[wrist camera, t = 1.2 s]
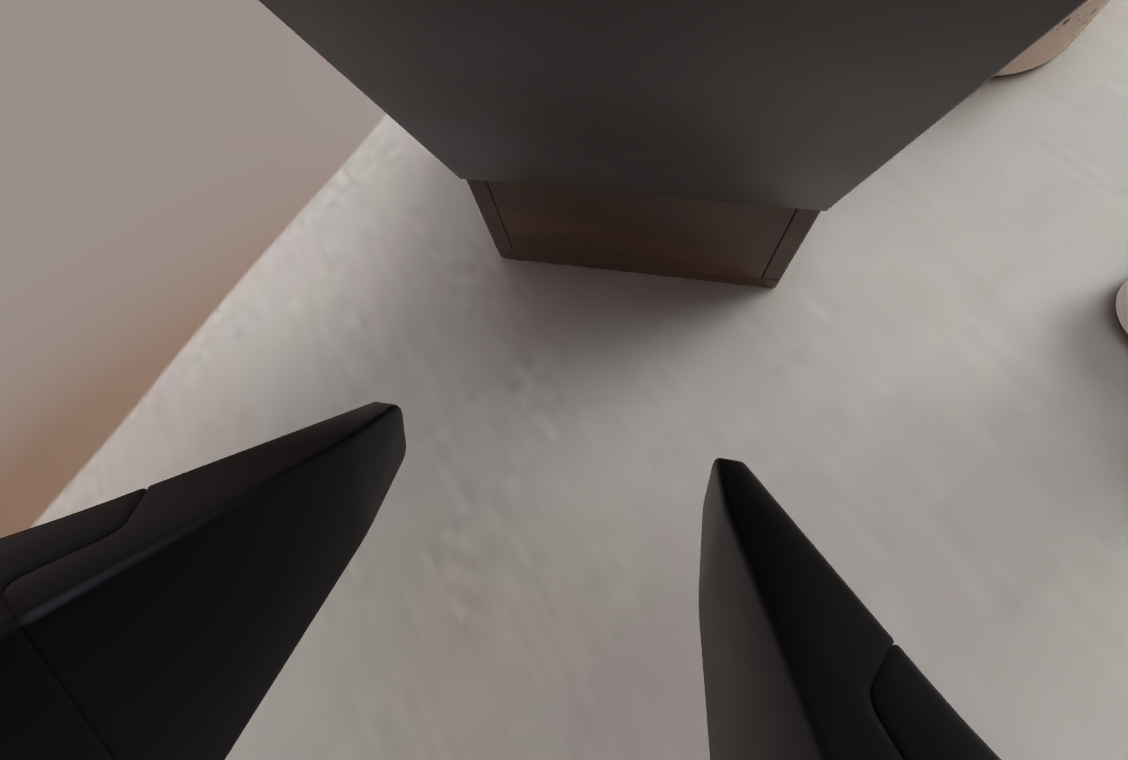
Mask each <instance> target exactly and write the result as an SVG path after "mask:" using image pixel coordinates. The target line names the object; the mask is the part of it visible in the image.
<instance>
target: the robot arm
mask: <svg viewBox="0 0 1128 760" xmlns="http://www.w3.org/2000/svg"><path fill="white" fill-rule="evenodd" d="M405 451H406V442H405V433H404V424H403V416H402V411H401V409H400V408H399V407H398V406H397V405H394V404H388V403H382V402H373V403H370V404H368V405H365V406H362V407H360V408H357V409H354V410H352V411H349V412H346V413H344V414H341V415H338V416H335V417H333V418H330V419H327V420H325V421H322V422H319V423H317V424H314V425H311V426H309V427H306V428H303V429H301V430H298V431H295V432H293V433H290V434H287V435H285V436H282V437H279V438H277V439H274V440H271V441H269V442H266V443H263V444H261V445H258V446H255V447H253V448H250V449H247V450H245V451H242V452H239V453H237V454H234V455H231V456H228V457H226V458H223V459H220V460H218V461H215V462H212V463H210V464H207V465H204V466H202V467H199V468H196V469H194V470H191V471H188V472H186V473H183V474H180V475H178V476H175V477H172V478H170V479H167V480H164V481H162V482H159V483H156V484H154V485H151V486H149V487H148V489H147V490H146V489H140V490H137V491H134V492H132V493H129V494H126V495H124V496H121V497H119V498H116V499H113V500H110V501H108V502H105V503H102V504H99V505H97V506H94V507H91V508H88V509H85V510H83V511H80V512H77V513H74V514H71V515H69V516H66V517H63V518H60V519H57V520H54V521H51V522H48V523H45V524H42V525H39V526H36V527H33V528H30V529H27V530H24V531H21V532H18V533H15V534H12V535H9V536H6V537H3V538H0V760H225V758H226V757H227V755H228V753H229V752H230V750H231V749H232V747H233V746H234V744H235V742H236V741H237V739H238V738H239V736H240V734H241V733H242V731H243V730H244V728H245V726H246V725H247V723H248V722H249V720H250V719H251V717H252V715H253V714H254V712H255V711H256V709H257V707H258V706H259V704H260V703H261V701H262V700H263V698H264V696H265V695H266V693H267V692H268V690H269V688H270V687H271V685H272V684H273V682H274V681H275V679H276V677H277V676H278V674H279V673H280V671H281V669H282V668H283V666H284V665H285V663H286V662H287V660H288V658H289V657H290V655H291V654H292V652H293V650H294V649H295V647H296V646H297V644H298V643H299V641H300V639H301V638H302V636H303V635H304V633H305V631H306V630H307V628H308V627H309V625H310V624H311V622H312V620H313V619H314V617H315V616H316V614H317V612H318V611H319V609H320V608H321V606H322V605H323V603H324V601H325V600H326V598H327V597H328V595H329V593H330V592H331V590H332V589H333V587H334V586H335V584H336V582H337V581H338V579H339V578H340V576H341V574H342V573H343V571H344V570H345V568H346V567H347V565H348V563H349V562H350V560H351V559H352V557H353V555H354V554H355V552H356V551H357V549H358V547H359V546H360V544H361V543H362V541H363V539H364V537H365V536H366V534H367V532H368V530H369V528H370V527H371V525H372V523H373V521H374V519H375V517H376V515H377V512H378V510H379V508H380V506H381V504H382V502H383V500H384V498H385V496H386V494H387V492H388V490H389V488H390V486H391V484H392V482H393V480H394V478H395V476H396V473H397V471H398V469H399V467H400V465H401V463H402V461H403V459H404V456H405ZM699 620H700V632H701V645H702V658H703V671H704V684H705V697H706V710H707V723H708V736H709V749H710V760H1001V759H1000V758H999V757H998V756H997V755H996V754H995V753H994V752H993V751H992V750H991V749H990V748H989V747H988V746H987V745H986V743H985V742H984V741H983V740H982V739H981V738H980V737H979V736H978V735H977V734H976V733H975V732H974V731H973V730H972V729H971V728H970V727H969V725H968V724H967V723H966V722H965V721H964V720H963V719H962V718H961V717H960V716H959V715H958V713H957V712H956V711H955V710H954V709H953V708H952V707H951V706H950V704H949V703H948V702H947V701H946V700H945V699H944V698H943V696H942V695H941V694H940V693H939V692H938V691H937V690H936V688H935V687H934V686H933V685H932V684H931V683H930V682H929V681H928V679H927V678H926V677H925V676H924V675H923V674H922V673H921V671H920V670H919V669H918V668H917V667H916V665H915V664H914V663H913V662H912V661H911V660H910V658H909V657H908V656H907V655H906V654H905V652H904V651H903V650H902V649H901V648H900V647H899V646H898V645H893V639H892V637H891V636H890V635H889V634H888V633H887V632H886V630H885V629H884V628H883V627H882V626H881V624H880V623H879V622H878V621H877V620H876V619H875V617H874V616H873V615H872V614H871V613H870V611H869V610H868V609H867V608H866V607H865V606H864V604H863V603H862V602H861V601H860V600H859V598H858V597H857V596H856V595H855V594H854V592H853V591H852V590H851V589H850V588H849V587H848V585H847V584H846V583H845V582H844V581H843V579H842V578H841V577H840V576H839V575H838V574H837V572H836V571H835V570H834V569H833V568H832V566H831V565H830V564H829V563H828V562H827V561H826V559H825V558H824V557H823V556H822V555H821V553H820V552H819V551H818V550H817V549H816V548H815V546H814V545H813V544H812V543H811V542H810V540H809V539H808V538H807V537H806V536H805V535H804V533H803V532H802V531H801V530H800V529H799V527H798V526H797V525H796V524H795V523H794V521H793V520H792V519H791V518H790V517H789V516H788V514H787V513H786V512H785V511H784V510H783V508H782V507H781V506H780V505H779V504H778V503H777V501H776V500H775V499H774V498H773V497H772V495H771V494H770V493H769V492H768V491H767V490H766V488H765V487H764V486H763V485H762V484H761V482H760V481H759V480H758V479H757V478H756V477H755V475H754V474H753V473H752V472H751V471H750V469H749V468H748V467H747V466H746V465H745V464H744V463H743V462H741V461H735V460H729V459H722V458H717V459H716V460H715V461H714V463H713V466H712V470H711V475H710V479H709V483H708V487H707V491H706V496H705V500H704V506H703V518H702V538H701V558H700V578H699ZM892 645H893V646H892Z"/></svg>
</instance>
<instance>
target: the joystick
mask: <svg viewBox="0 0 1128 760" xmlns="http://www.w3.org/2000/svg"><path fill="white" fill-rule="evenodd" d="M1116 311H1117V315H1118V318H1119V321H1120V323H1121V325H1122V327H1123V328H1124V330H1125V331H1126V333H1127V334H1128V279H1127V280H1126V281H1125V282H1124V283H1123V284H1122V286H1121V287H1120V289H1119V291H1118V294H1117V298H1116Z"/></svg>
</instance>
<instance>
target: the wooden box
mask: <svg viewBox="0 0 1128 760" xmlns="http://www.w3.org/2000/svg"><path fill="white" fill-rule="evenodd" d="M466 180H467V182H468V184H469V186H470V189H471V191H472V193H473V195H474V198H475V200H476V202H477V204H478V207H479V209H480V211H481V213H482V216H483V218H484V220H485V223H486V225H487V227H488V229H489V232H490V234H491V236H492V238H493V241H494V243H495V245H496V247H497V249H498V251H499V253H500V256H501V257H503V258H512V259H521V260H530V261H539V262H548V263H557V264H566V265H575V266H584V267H592V268H601V269H610V270H619V271H628V272H637V273H646V274H655V275H664V276H673V277H682V278H691V279H700V280H708V281H717V282H726V283H735V284H744V285H753V286H762V287H771V288H775V287H776V285H777V284H778V282H779V280H780V279H781V277H782V275H783V274H784V272H785V270H786V268H787V267H788V265H789V263H790V262H791V260H792V258H793V257H794V255H795V253H796V252H797V250H798V248H799V247H800V245H801V243H802V242H803V240H804V238H805V237H806V235H807V233H808V231H809V230H810V228H811V226H812V225H813V223H814V221H815V220H816V218H817V216H818V215H819V213H820V210H809V209H798V208H786V207H775V206H764V205H753V204H741V203H730V202H719V201H708V200H696V199H685V198H674V197H663V196H651V195H640V194H629V193H618V192H606V191H595V190H584V189H573V188H561V187H550V186H539V185H528V184H516V183H505V182H494V181H483V180H471V179H466Z"/></svg>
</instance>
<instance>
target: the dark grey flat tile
mask: <svg viewBox="0 0 1128 760" xmlns="http://www.w3.org/2000/svg"><path fill="white" fill-rule="evenodd" d="M259 1H260V2H261V3H263V4H264V5H265V6H266V7H267V8H268V9H269V10H270V11H272V12H273V13H274V14H275V15H276V16H277V17H278V18H279V19H281V20H282V21H283V22H284V23H285V24H286V25H287V26H289V27H290V28H291V29H292V30H293V31H294V32H295V33H296V34H298V35H299V36H300V37H301V38H302V39H303V40H304V41H305V42H307V43H308V44H309V45H310V46H311V47H312V48H313V49H314V50H316V51H317V52H318V53H319V54H320V55H321V56H322V57H323V58H325V59H326V60H327V61H328V62H329V63H330V64H331V65H333V66H334V67H335V68H336V69H337V70H338V71H339V72H341V73H342V74H343V75H344V76H345V77H346V78H347V79H348V80H349V81H351V82H352V83H353V84H354V85H355V86H356V87H357V88H359V89H360V90H361V91H362V92H363V93H364V94H365V95H367V96H368V97H369V98H370V99H371V100H372V101H373V102H374V103H375V104H377V105H378V106H379V107H380V108H381V109H382V110H383V111H384V112H386V113H387V114H388V115H389V116H390V117H391V118H392V119H394V120H395V121H396V122H397V123H398V124H399V125H400V126H401V127H403V128H404V129H405V130H406V131H407V132H408V133H409V134H410V135H412V136H413V137H414V138H415V139H416V140H417V141H418V142H420V143H421V144H422V145H423V146H424V147H425V148H426V149H427V150H429V151H430V152H431V153H432V154H433V155H434V156H435V157H436V158H438V159H439V160H440V161H441V162H442V163H443V164H444V165H445V166H447V167H448V168H449V169H450V170H451V171H452V172H453V173H455V174H456V175H457V176H458V177H459V178H461V179H471V180H483V181H494V182H505V183H516V184H528V185H539V186H550V187H561V188H573V189H584V190H595V191H606V192H618V193H629V194H640V195H651V196H663V197H674V198H685V199H696V200H708V201H719V202H730V203H741V204H753V205H764V206H775V207H786V208H798V209H809V210H820V211H826V210H828V209H829V208H830V207H832V206H833V205H834V204H835V203H837V202H838V201H839V200H840V199H841V198H843V197H844V196H845V195H846V194H848V193H849V192H850V191H851V190H853V189H854V188H855V187H856V186H858V185H859V184H860V183H861V182H863V181H864V180H865V179H866V178H868V177H869V176H870V175H871V174H873V173H874V172H875V171H876V170H878V169H879V168H880V167H881V166H883V165H884V164H885V163H886V162H888V161H889V160H890V159H891V158H893V157H894V156H895V155H896V154H897V153H899V152H900V151H901V150H902V149H904V148H905V147H906V146H907V145H909V144H910V143H911V142H912V141H914V140H915V139H916V138H917V137H919V136H920V135H921V134H922V133H924V132H925V131H926V130H927V129H929V128H930V127H931V126H932V125H934V124H935V123H936V122H937V121H939V120H940V119H941V118H942V117H944V116H945V115H946V114H947V113H948V112H950V111H951V110H952V109H953V108H955V107H956V106H957V105H958V104H960V103H961V102H962V101H963V100H965V99H966V98H967V97H968V96H970V95H971V94H972V93H973V92H975V91H976V90H977V89H978V88H980V87H981V86H982V85H983V84H985V83H986V82H987V81H988V80H990V79H991V78H992V77H993V76H995V75H996V74H997V73H998V72H999V71H1001V70H1002V69H1003V68H1004V67H1006V66H1007V65H1008V64H1009V63H1011V62H1012V61H1013V60H1014V59H1016V58H1017V57H1018V56H1019V55H1021V54H1022V53H1023V52H1024V51H1026V50H1027V49H1028V48H1029V47H1031V46H1032V45H1033V44H1034V43H1036V42H1037V41H1038V40H1039V39H1041V38H1042V37H1043V36H1044V35H1046V34H1047V33H1048V32H1049V31H1051V30H1052V29H1053V28H1054V27H1055V26H1057V25H1058V24H1059V23H1060V22H1062V21H1063V20H1064V19H1065V18H1067V17H1068V16H1069V15H1070V14H1072V13H1073V12H1074V11H1075V10H1077V9H1078V8H1079V7H1080V6H1082V5H1083V4H1084V3H1085V2H1087V1H1088V0H259Z"/></svg>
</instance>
